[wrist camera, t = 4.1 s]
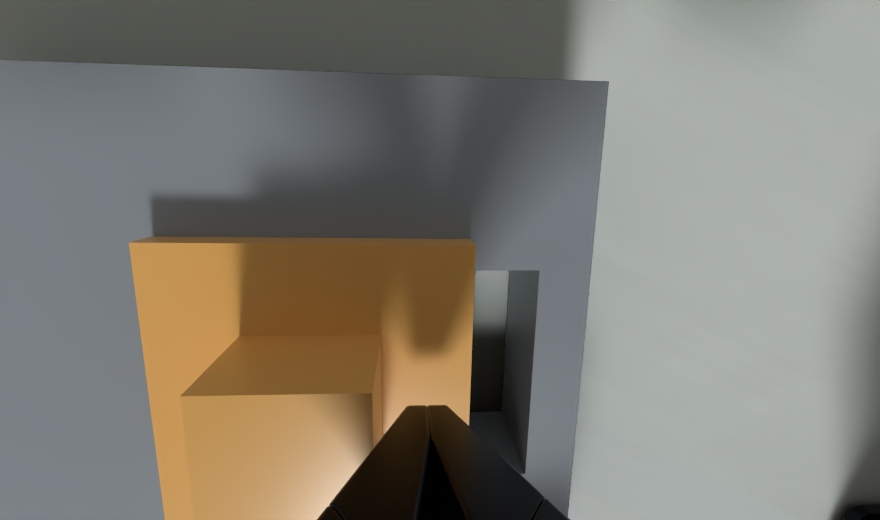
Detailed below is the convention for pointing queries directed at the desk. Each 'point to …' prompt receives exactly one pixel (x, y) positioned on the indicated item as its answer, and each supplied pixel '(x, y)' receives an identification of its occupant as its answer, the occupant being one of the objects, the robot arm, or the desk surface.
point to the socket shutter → (293, 361)
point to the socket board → (270, 215)
